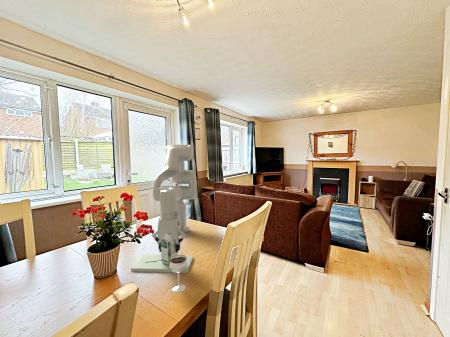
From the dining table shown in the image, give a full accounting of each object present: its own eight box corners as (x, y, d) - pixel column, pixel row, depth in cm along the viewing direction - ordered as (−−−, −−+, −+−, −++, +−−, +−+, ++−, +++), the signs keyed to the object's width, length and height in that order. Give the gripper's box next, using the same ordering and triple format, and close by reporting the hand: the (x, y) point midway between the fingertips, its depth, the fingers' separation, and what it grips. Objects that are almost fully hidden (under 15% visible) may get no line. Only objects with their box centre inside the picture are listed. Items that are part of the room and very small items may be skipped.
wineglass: (174, 296, 73) (173, 265, 72) (167, 286, 78) (166, 258, 77) (190, 289, 77) (190, 260, 76) (183, 280, 82) (182, 252, 81)
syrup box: (160, 262, 93) (159, 232, 92) (169, 256, 98) (168, 228, 97) (169, 265, 90) (168, 234, 89) (178, 259, 95) (177, 230, 94)
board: (143, 257, 101) (143, 254, 101) (193, 258, 99) (193, 255, 99) (131, 271, 89) (131, 267, 89) (187, 272, 88) (187, 269, 87)
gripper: (188, 212, 95) (189, 247, 97) (153, 212, 96) (155, 246, 98) (184, 218, 88) (185, 255, 89) (147, 217, 89) (148, 254, 90)
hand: (169, 250), depth 94 cm, fingers closed on syrup box, 7 cm apart
